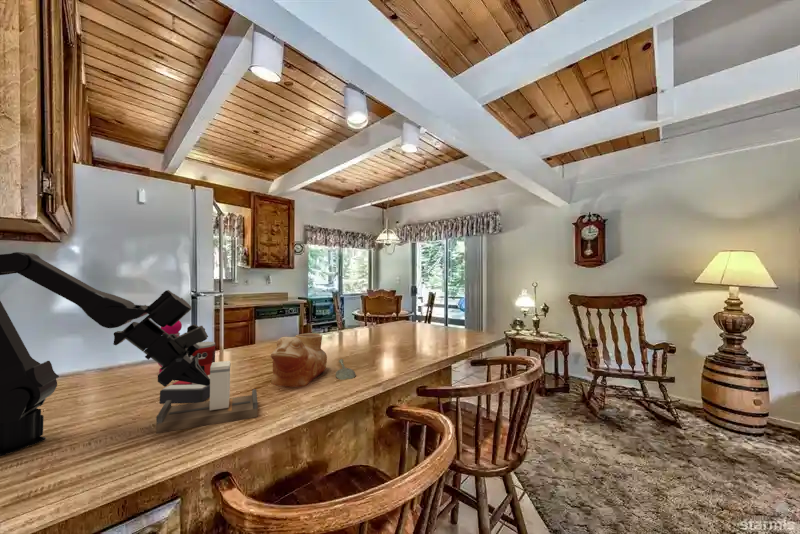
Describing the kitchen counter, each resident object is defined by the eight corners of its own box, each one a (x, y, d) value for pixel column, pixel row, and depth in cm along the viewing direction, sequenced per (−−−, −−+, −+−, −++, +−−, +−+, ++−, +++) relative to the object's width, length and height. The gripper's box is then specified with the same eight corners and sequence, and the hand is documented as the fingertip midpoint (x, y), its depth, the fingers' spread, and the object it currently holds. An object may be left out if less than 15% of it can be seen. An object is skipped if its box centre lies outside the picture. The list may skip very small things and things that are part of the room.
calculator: (227, 373, 103) (202, 387, 88) (226, 387, 103) (201, 403, 88) (190, 373, 102) (159, 387, 87) (190, 387, 102) (158, 404, 87)
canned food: (180, 379, 106) (181, 345, 106) (202, 372, 114) (203, 340, 114) (199, 382, 104) (200, 347, 104) (220, 374, 112) (220, 342, 112)
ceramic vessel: (256, 390, 98) (257, 339, 98) (298, 365, 124) (299, 325, 124) (299, 393, 96) (300, 341, 96) (333, 368, 121) (334, 327, 122)
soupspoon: (335, 383, 107) (356, 383, 109) (336, 373, 107) (356, 373, 109) (332, 363, 128) (349, 363, 130) (333, 354, 128) (350, 354, 130)
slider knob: (209, 410, 77) (210, 367, 78) (211, 402, 82) (212, 362, 82) (228, 407, 79) (229, 365, 79) (229, 400, 84) (230, 360, 84)
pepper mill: (169, 376, 109) (171, 316, 110) (151, 375, 111) (153, 315, 111) (188, 370, 116) (189, 313, 117) (170, 369, 118) (172, 313, 118)
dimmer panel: (156, 433, 71) (156, 416, 71) (166, 415, 80) (166, 400, 80) (257, 416, 79) (257, 402, 80) (256, 402, 88) (256, 388, 89)
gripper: (177, 320, 69) (235, 367, 74) (190, 311, 86) (237, 349, 91) (129, 362, 66) (193, 408, 70) (153, 344, 83) (203, 382, 87)
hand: (209, 383), depth 80 cm, fingers closed, pressing on slider knob
